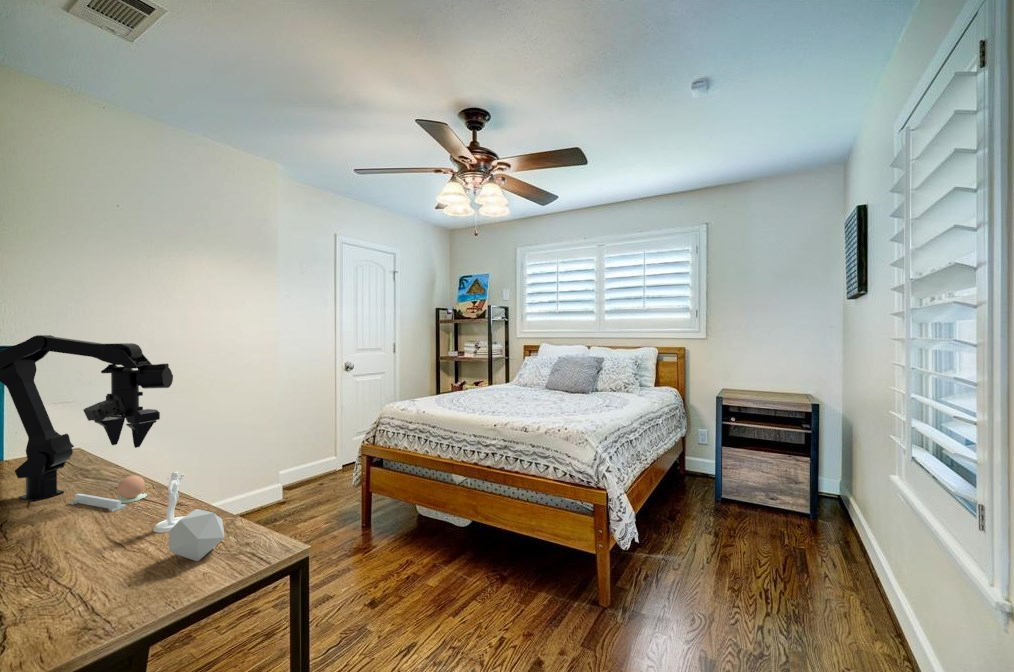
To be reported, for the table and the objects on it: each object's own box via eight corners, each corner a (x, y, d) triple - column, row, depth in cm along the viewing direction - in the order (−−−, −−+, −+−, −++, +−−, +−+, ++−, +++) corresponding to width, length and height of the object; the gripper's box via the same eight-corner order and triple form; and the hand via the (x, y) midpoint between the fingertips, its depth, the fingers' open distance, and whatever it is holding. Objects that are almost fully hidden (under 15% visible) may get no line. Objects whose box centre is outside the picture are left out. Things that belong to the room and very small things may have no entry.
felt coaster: (109, 501, 112) (109, 500, 112) (137, 493, 118) (137, 492, 118) (126, 504, 110) (126, 503, 110) (153, 495, 116) (153, 494, 116)
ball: (112, 500, 112) (111, 478, 112) (136, 493, 117) (135, 472, 117) (126, 502, 110) (126, 480, 110) (150, 494, 116) (149, 473, 116)
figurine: (188, 529, 96) (188, 474, 96) (148, 535, 93) (147, 478, 93) (197, 516, 102) (196, 465, 102) (159, 521, 100) (159, 468, 100)
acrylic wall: (69, 504, 110) (69, 496, 110) (84, 499, 113) (84, 492, 113) (112, 511, 105) (112, 503, 105) (126, 507, 108) (126, 499, 108)
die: (235, 553, 86) (232, 503, 91) (204, 550, 79) (202, 496, 83) (191, 571, 85) (191, 520, 90) (155, 570, 78) (157, 514, 83)
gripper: (66, 391, 116) (66, 450, 116) (113, 394, 110) (114, 456, 110) (115, 386, 126) (115, 441, 126) (161, 389, 120) (161, 445, 120)
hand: (125, 446), depth 120 cm, fingers open, 9 cm apart
